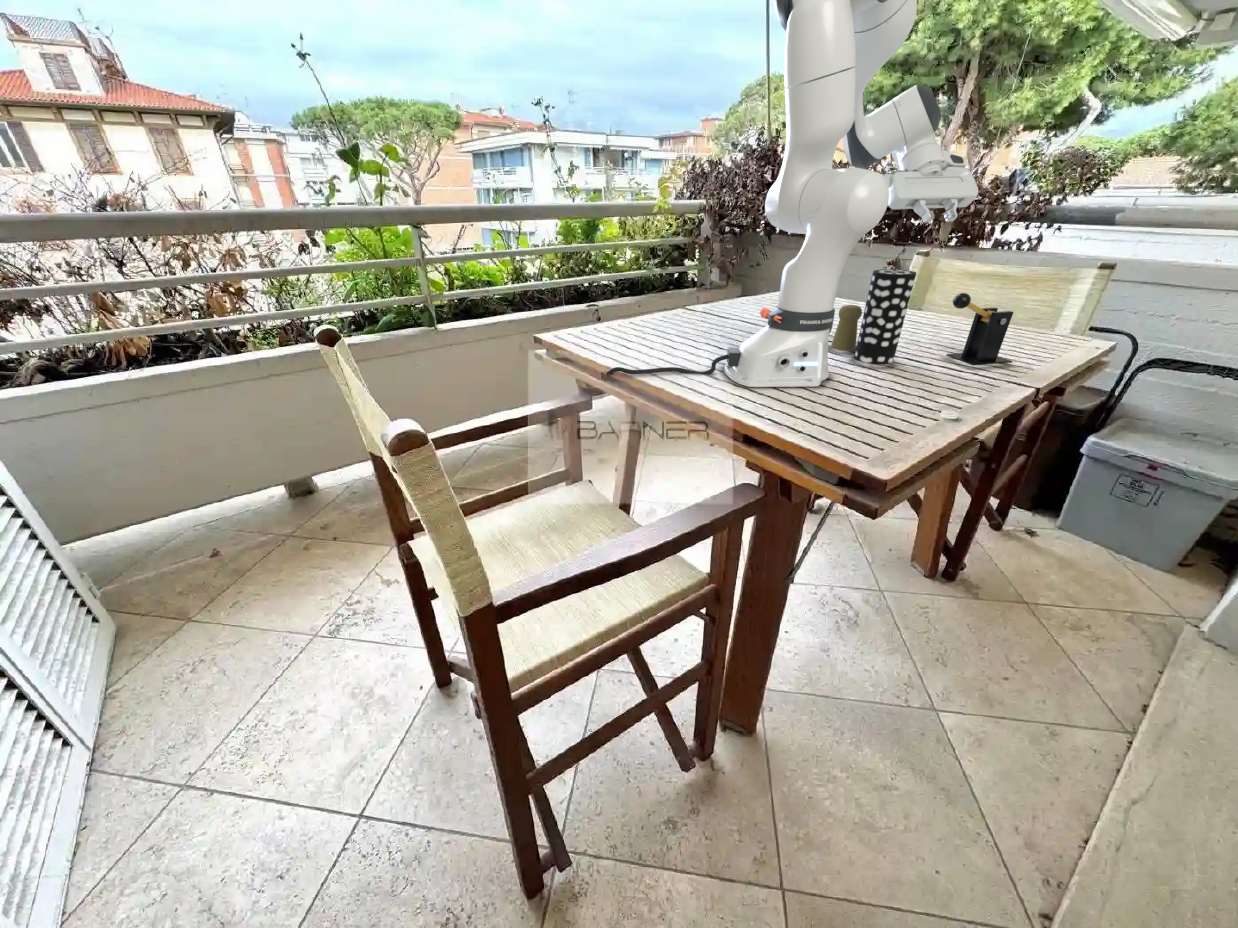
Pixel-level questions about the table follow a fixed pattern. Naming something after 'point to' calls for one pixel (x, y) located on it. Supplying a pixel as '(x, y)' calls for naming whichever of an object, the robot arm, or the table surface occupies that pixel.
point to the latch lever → (970, 306)
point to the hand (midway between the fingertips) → (940, 220)
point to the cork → (847, 328)
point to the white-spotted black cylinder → (884, 315)
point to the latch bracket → (985, 339)
